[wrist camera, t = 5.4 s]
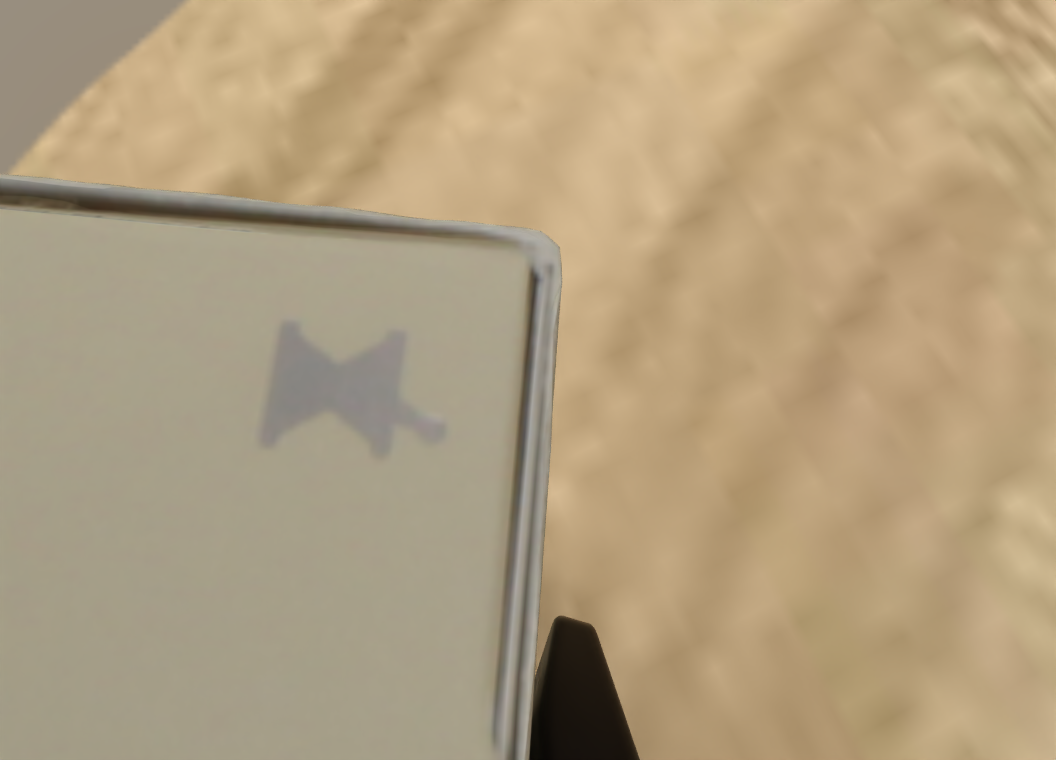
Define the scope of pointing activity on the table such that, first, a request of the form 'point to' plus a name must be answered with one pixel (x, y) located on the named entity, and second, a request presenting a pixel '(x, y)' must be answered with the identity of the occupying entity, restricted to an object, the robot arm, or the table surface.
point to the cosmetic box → (268, 478)
